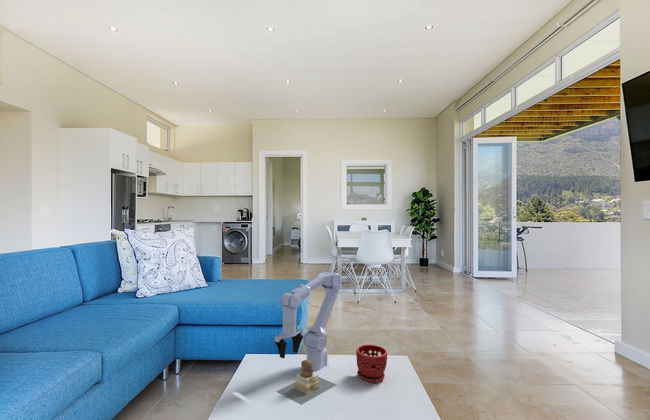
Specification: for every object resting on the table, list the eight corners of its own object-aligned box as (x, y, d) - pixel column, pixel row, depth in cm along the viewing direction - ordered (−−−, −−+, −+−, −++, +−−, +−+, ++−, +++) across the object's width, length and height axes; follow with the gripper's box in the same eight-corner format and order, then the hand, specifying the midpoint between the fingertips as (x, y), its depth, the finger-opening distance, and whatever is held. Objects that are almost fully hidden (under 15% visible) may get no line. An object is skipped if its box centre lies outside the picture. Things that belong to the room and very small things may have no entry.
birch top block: (307, 376, 138) (307, 370, 138) (317, 381, 134) (317, 374, 134) (296, 381, 133) (296, 375, 133) (307, 386, 129) (307, 380, 129)
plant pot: (352, 382, 140) (352, 352, 141) (361, 369, 153) (361, 342, 153) (383, 388, 136) (383, 357, 136) (390, 374, 148) (390, 346, 148)
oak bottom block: (306, 382, 138) (307, 375, 138) (319, 387, 134) (319, 381, 134) (294, 388, 133) (294, 381, 133) (307, 394, 128) (307, 387, 128)
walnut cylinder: (306, 371, 136) (306, 359, 137) (314, 374, 134) (314, 361, 134) (299, 375, 133) (299, 362, 133) (307, 378, 130) (307, 365, 130)
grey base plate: (311, 376, 145) (311, 374, 145) (336, 387, 136) (336, 384, 136) (275, 394, 130) (275, 391, 130) (301, 407, 121) (301, 404, 121)
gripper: (295, 317, 151) (294, 348, 150) (270, 324, 140) (269, 357, 139) (306, 320, 146) (306, 352, 146) (281, 327, 135) (281, 362, 135)
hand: (288, 355), depth 142 cm, fingers open, 7 cm apart
